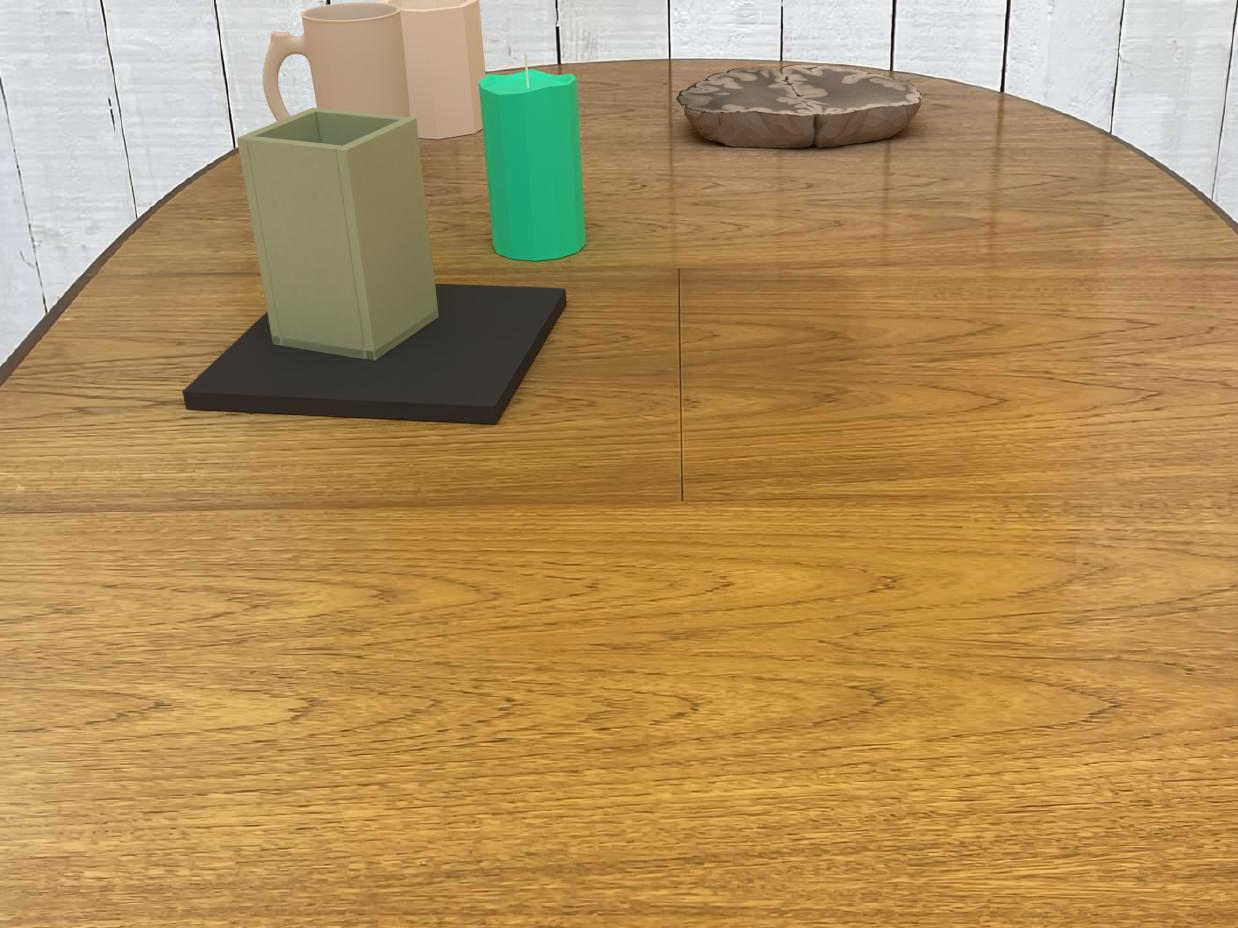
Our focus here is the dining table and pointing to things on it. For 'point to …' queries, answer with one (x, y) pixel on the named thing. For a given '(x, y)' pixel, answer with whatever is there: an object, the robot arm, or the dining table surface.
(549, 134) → the candle
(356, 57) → the mug
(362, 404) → the mat
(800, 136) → the brain slice
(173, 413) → the dining table surface
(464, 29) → the mug
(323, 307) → the green box
